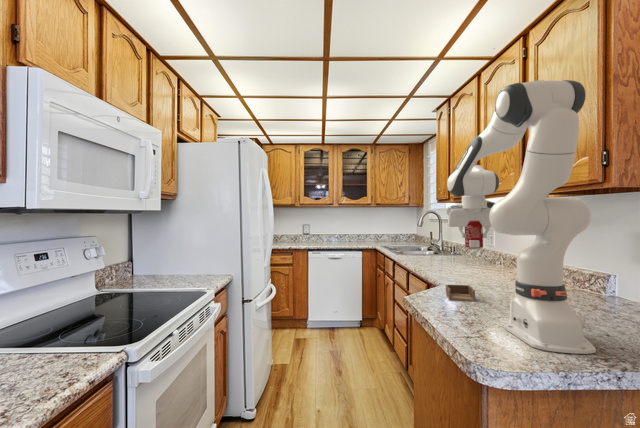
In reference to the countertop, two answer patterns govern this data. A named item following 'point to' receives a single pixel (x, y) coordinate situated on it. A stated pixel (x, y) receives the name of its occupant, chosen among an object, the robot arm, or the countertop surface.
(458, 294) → the can rest
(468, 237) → the soda can
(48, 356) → the countertop surface
